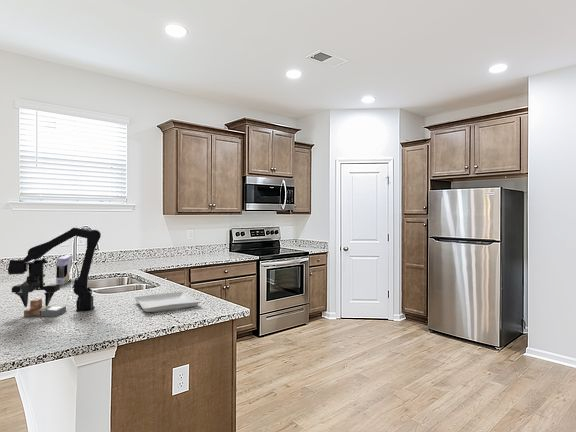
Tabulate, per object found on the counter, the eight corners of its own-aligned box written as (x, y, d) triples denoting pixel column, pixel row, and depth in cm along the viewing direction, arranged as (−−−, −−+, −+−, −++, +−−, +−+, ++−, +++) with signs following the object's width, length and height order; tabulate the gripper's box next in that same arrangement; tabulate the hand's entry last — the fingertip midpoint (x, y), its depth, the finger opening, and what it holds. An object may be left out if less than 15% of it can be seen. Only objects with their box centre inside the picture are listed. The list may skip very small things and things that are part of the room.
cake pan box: (63, 285, 240) (63, 258, 239) (54, 285, 238) (54, 258, 238) (73, 279, 258) (73, 254, 258) (65, 280, 257) (65, 254, 257)
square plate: (143, 316, 172) (143, 307, 172) (132, 303, 195) (132, 296, 195) (199, 308, 186) (199, 300, 186) (184, 297, 209) (184, 290, 209)
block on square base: (49, 311, 177) (49, 297, 177) (40, 315, 169) (39, 301, 169) (34, 311, 176) (34, 297, 176) (23, 316, 169) (23, 301, 168)
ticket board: (65, 311, 178) (65, 305, 178) (56, 316, 170) (56, 310, 170) (50, 311, 177) (50, 306, 177) (40, 316, 169) (40, 310, 169)
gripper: (3, 276, 164) (3, 311, 164) (47, 276, 165) (47, 310, 165) (19, 272, 175) (19, 305, 175) (60, 272, 176) (60, 304, 177)
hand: (36, 306), depth 173 cm, fingers open, 9 cm apart
